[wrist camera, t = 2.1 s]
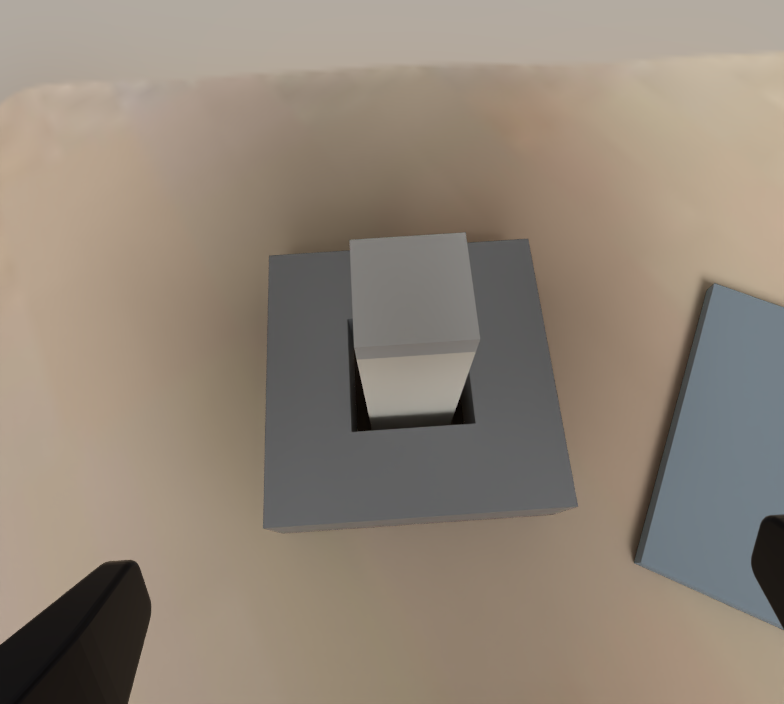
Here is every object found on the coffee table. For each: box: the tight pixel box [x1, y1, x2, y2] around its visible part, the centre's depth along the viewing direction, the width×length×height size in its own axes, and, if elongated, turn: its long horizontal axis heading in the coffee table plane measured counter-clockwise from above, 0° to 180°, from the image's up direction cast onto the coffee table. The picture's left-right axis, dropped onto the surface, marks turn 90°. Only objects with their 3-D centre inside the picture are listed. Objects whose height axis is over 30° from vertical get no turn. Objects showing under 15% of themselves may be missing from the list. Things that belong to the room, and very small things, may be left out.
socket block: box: [263, 239, 578, 533], centre depth 20 cm, size 10×10×3 cm
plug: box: [350, 232, 480, 431], centre depth 17 cm, size 3×3×9 cm
